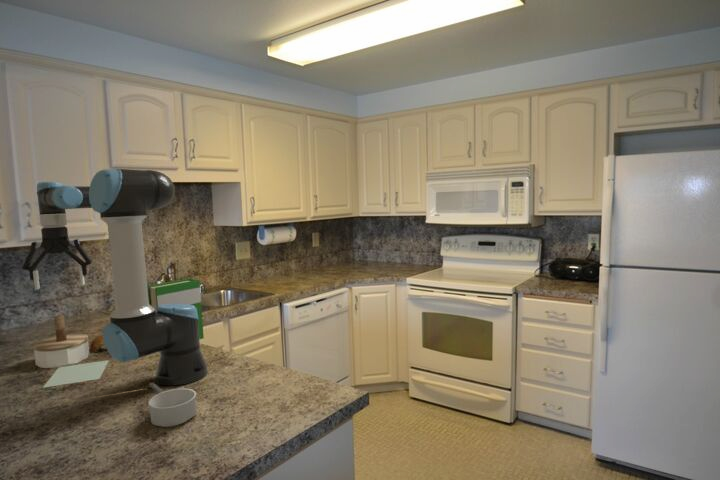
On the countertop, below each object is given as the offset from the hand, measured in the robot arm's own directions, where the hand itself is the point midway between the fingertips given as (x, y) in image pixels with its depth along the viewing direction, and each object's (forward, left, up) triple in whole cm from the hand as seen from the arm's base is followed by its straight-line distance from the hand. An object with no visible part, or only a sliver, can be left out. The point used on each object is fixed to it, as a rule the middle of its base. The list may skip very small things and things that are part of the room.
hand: (60, 287), depth 156 cm
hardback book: (+4, -37, -27) cm, 46 cm away
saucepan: (-59, -35, -27) cm, 74 cm away
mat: (-17, -7, -27) cm, 32 cm away
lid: (0, +1, -20) cm, 20 cm away
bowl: (0, +1, -27) cm, 27 cm away
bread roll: (+9, -10, -27) cm, 31 cm away
